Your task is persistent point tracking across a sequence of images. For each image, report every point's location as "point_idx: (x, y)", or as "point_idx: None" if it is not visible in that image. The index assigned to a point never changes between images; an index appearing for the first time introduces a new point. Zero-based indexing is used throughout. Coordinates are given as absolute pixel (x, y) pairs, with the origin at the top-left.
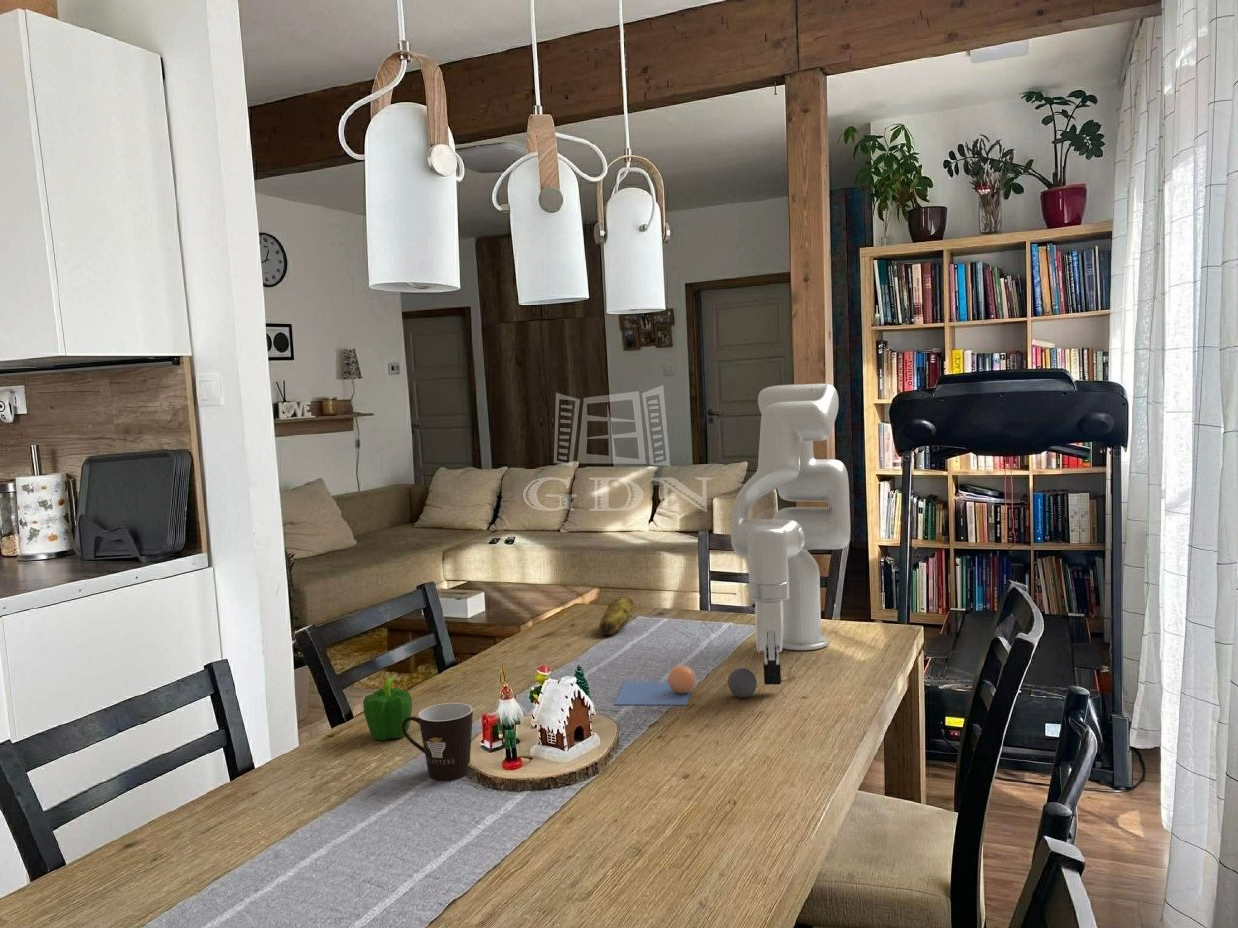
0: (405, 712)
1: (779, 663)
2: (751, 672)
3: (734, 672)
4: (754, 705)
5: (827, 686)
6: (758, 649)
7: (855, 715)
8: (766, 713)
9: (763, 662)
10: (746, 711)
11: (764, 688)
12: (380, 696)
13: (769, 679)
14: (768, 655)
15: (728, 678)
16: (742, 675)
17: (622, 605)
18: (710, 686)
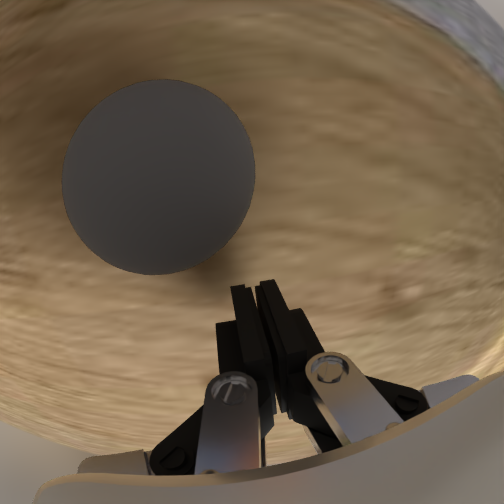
0: None
1: (287, 413)
2: (159, 265)
3: (99, 132)
4: (73, 243)
5: None
6: (34, 497)
7: (123, 449)
8: (26, 296)
9: (293, 351)
10: (14, 227)
11: (307, 246)
12: None
13: (217, 328)
14: (157, 475)
15: (145, 81)
16: (70, 211)
17: None
18: (311, 9)
